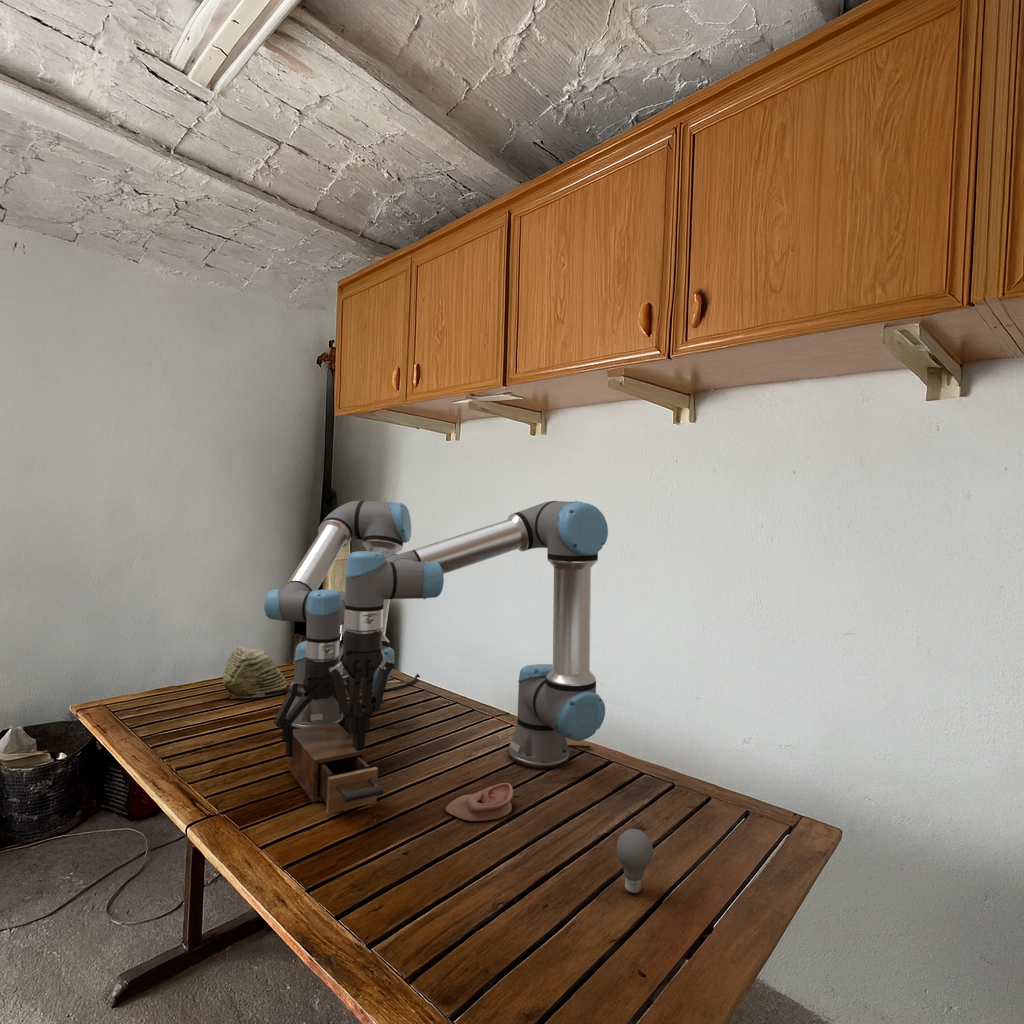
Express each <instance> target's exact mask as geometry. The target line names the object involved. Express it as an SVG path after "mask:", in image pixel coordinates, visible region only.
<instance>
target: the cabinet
mask: <svg viewBox="0 0 1024 1024" xmlns="http://www.w3.org/2000/svg"><path fill="white" fill-rule="evenodd" d="M352 745H353V735H352V734H351V735H350V734H349V733H348V732H347V731H346V730H345V729H344V727H343V726H342V724H340V725H339V724H338V723H337V722H335V723H329V724H323V725H317V726H311V727H305V728H299V729H293V750H292V757H288V756H287V769H288V771H289V772H290V773H291V775H292V776H293V778H294V779H295V780H296V782H297V783H298V784H299V786H300V787H301V789H302V790H303V791H304V793H305V795H307V797H308V799H309V800H310V802H311V803H317V802H322V801H324V800H323V798H322V797H321V796H320V795H319V793H318V792H317V788H318V764H319V763H324V762H329V761H334V760H339V759H344V758H349V757H354V756H360V757H361V758H362V759H363V760H364V761H365V762H366V763H367V749H366V748H365V750H361V751H357V750H356V749H354V748H353V747H352Z"/></svg>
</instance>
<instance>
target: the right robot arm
mask: <svg viewBox="0 0 1024 1024" xmlns="http://www.w3.org/2000/svg"><path fill="white" fill-rule="evenodd" d="M606 519H607V518H605V515H604V514H603V512H602V511H601V510H600V509H599V508H598V507H597V506H595V505H593V504H591V503H588V502H583V501H579V500H574V501H567V500H565V501H564V500H561V501H560V500H550V501H545V502H542V503H538V504H536V505H534V506H531V507H528V508H524V509H522V510H520V511H516V512H513V513H510V514H509V515H508V518H507V519H506V520H502V521H499V522H496V523H492V524H489V525H486V526H483V527H480V528H476V529H473V530H471V531H467V532H464V533H461V534H457V535H455V536H452V537H449V538H445V539H442V540H439V541H436V542H433V543H429V544H426V545H423V546H421V547H417V548H413V549H412V550H408V551H404V552H401V553H397V554H388V555H385V554H384V553H381V552H370V551H367V550H361V551H360V550H359V551H353V552H350V553H349V554H348V555H347V558H346V566H345V569H346V570H345V574H344V578H345V581H344V582H345V583H344V584H345V586H344V591H345V610H344V624H343V629H345V630H344V632H343V633H342V640H343V641H342V645H343V654H342V656H341V658H340V662H339V663H338V664H337V665H336V666H334V667H329V669H328V671H329V673H330V674H331V676H332V677H333V680H334V685H335V690H336V694H337V699H338V704H339V709H340V712H341V713H342V714H343V716H344V717H345V716H349V731H350V732H351V735H352V737H353V745H352V747H353V748H354V749H356V750H357V751H361V750H365V749H366V748H365V747H366V732H369V731H370V729H371V728H370V727H371V717H373V716H374V715H373V714H374V713H375V712H379V711H380V709H381V706H382V702H383V699H384V694H385V692H386V691H385V689H386V688H387V687H386V686H387V684H388V682H387V679H388V675H389V673H390V672H391V670H392V671H393V669H394V666H395V665H394V664H395V663H394V664H393V663H391V662H390V661H388V660H385V659H383V654H382V652H381V649H382V632H381V630H380V629H381V628H382V627H383V606H384V604H383V603H384V599H390V600H411V599H412V600H415V599H417V600H419V599H423V600H426V599H432V598H433V599H435V598H438V597H439V596H440V595H441V593H442V592H443V589H444V583H445V577H444V575H445V574H448V573H451V572H454V571H457V570H460V569H463V568H466V567H469V566H472V565H475V564H477V563H481V562H484V561H487V560H489V559H493V558H496V557H499V556H501V555H502V556H503V555H505V554H508V553H510V552H513V551H517V550H518V551H519V552H522V553H523V552H527V551H530V550H533V549H547V551H546V552H547V555H546V556H547V558H546V559H547V561H548V562H549V564H551V565H552V567H553V603H552V605H553V606H552V608H553V611H552V612H553V613H552V618H553V619H552V664H551V663H538V664H537V663H536V664H528V665H525V666H522V667H521V669H520V671H519V675H518V681H517V682H518V691H517V693H518V695H517V719H516V721H517V722H516V726H515V729H514V732H513V734H512V737H511V740H510V743H509V745H508V758H509V759H510V760H511V761H512V762H513V763H515V764H517V765H519V766H523V767H526V768H530V769H536V770H537V769H539V770H549V769H556V768H560V767H562V766H564V765H565V764H567V763H568V762H569V761H570V748H571V749H589V750H590V749H591V745H585V744H584V745H582V744H568V741H567V739H569V740H571V741H577V742H578V741H585V740H587V739H589V738H590V737H592V736H594V735H595V734H596V732H597V730H599V729H600V728H601V726H602V725H603V722H604V720H605V718H606V717H605V716H606V705H605V702H604V700H603V699H602V697H601V696H600V694H598V693H597V677H596V675H595V674H594V673H593V672H592V671H591V604H592V603H591V602H592V600H591V599H592V598H591V597H592V593H591V592H592V569H593V566H594V565H595V564H597V562H599V552H600V551H601V550H602V549H603V546H604V545H606V543H607V540H608V535H609V526H608V522H607V520H606ZM378 667H379V668H380V669H379V672H378V675H377V679H376V683H375V687H374V690H372V682H373V679H374V673H375V671H376V670H377V668H378ZM343 668H344V669H345V670H346V671H347V673H348V674H349V680H350V688H349V694H347V690H346V688H345V685H344V681H343V678H342V675H343ZM392 668H393V669H392ZM361 677H362V690H361V689H360V683H361ZM386 683H387V684H386ZM360 691H361V692H360ZM372 692H373V694H372ZM360 693H361V694H360ZM347 695H348V696H347ZM360 695H362V698H359V696H360ZM360 699H361V700H360ZM359 701H360V703H361V711H362V713H359Z"/></svg>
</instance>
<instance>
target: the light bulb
mask: <svg viewBox="0 0 1024 1024" xmlns="http://www.w3.org/2000/svg"><path fill="white" fill-rule="evenodd" d="M615 849H616V854H617V857H618V859H619V861H620V863H621V865H622V867H623V873H624V874H623V875H624V876H625V878H624V888H625V890H627V891H628V892H630V893H634V894H635V893H639V892H640V891H641V889H642V887H641V886H642V879H643V877H644V875H645V871H646V868H647V867H648V866H649V864H650V863H651V861H652V859H653V855H654V847H653V843H652V841H651V838H649V836H648V835H647V834H646V833H645V832H643V831H642V830H641V829H636V828H629V829H627V830H625V831H623V832H622V833H621V834H620V835H619V837H618V839H617V841H616V847H615Z"/></svg>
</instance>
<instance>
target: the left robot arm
mask: <svg viewBox="0 0 1024 1024" xmlns="http://www.w3.org/2000/svg"><path fill="white" fill-rule="evenodd" d="M317 533H318V534H317V536H316V537H315V539H314V540H313V542H312V543H311V545H310V547H309V548H308V549H307V552H306V553H305V555H304V556H303V558H302V559H301V561H300V562H299V563H298V566H297V567H296V568H295V570H294V572H293V573H292V575H290V578H289V579H288V581H287V583H286V584H285V585H284V587H283V588H282V589H281V588H275V589H271V590H269V591H268V592H267V594H266V595H265V598H264V602H263V609H264V610H263V611H264V613H265V616H266V617H267V618H268V619H270V620H273V621H281V622H298V623H306V631H305V632H306V634H305V635H306V636H305V640H304V641H302V642H299V643H298V644H297V645H296V647H295V652H294V653H295V654H294V659H293V661H294V670H293V671H294V672H293V680H291V681H290V682H289V686H288V691H287V693H286V695H285V697H284V699H283V701H282V703H281V705H280V708H279V709H278V711H277V713H276V715H275V716H274V719H273V724H274V725H275V727H277V728H281V740H282V742H283V743H285V754H286V756H287V758H288V757H292V750H293V729H299V728H305V727H311V726H317V725H323V724H329V723H335V722H337V723H338V724H339V725H342V723H343V722H344V727H343V728H344V729H345V730H346V731H347V732H348V733H349V734H350V735H351V736H352V733H351V732H350V731H349V716H345V715H343V714H342V713H341V712H340V709H339V704H338V699H337V694H336V690H335V685H334V680H333V677H332V676H331V674H330V673H329V671H328V669H329V667H334V666H336V665H337V664H338V663H339V662H340V658H341V656H342V654H343V644H341V626H344V610H345V590H344V591H343V590H342V591H339V590H335V589H319V588H320V586H321V585H322V583H323V581H324V580H325V578H326V577H327V574H328V572H329V571H330V569H331V568H332V566H333V564H334V563H335V561H336V559H337V557H338V555H340V552H341V550H342V549H343V548H344V547H346V546H348V545H349V543H351V541H355V540H359V541H362V546H363V547H364V548H365V551H370V552H381V553H384V554H385V555H388V554H399V553H400V552H401V551H402V550H403V547H404V544H406V543H408V542H410V540H411V536H412V521H411V515H410V510H409V508H408V507H407V505H406V504H404V503H402V502H393V501H374V500H373V501H371V500H370V501H369V500H353V501H349V502H346V503H343V504H341V505H340V506H338V507H336V508H335V509H334V510H332V511H331V512H330V513H329V514H328V515H327V516H326V517H324V519H323V520H322V522H321V523H320V525H319V526H318V529H317ZM390 601H391V599H384V603H383V604H384V606H383V627H382V628H381V629H380V630H381V632H382V649H381V652H382V654H383V659H385V660H388V661H390V662H391V663H393V664H395V651H394V648H392V647H390V640H389V639H388V638H387V637H386V632H387V631H386V630H387V625H388V617H389V610H390V603H391V602H390ZM379 669H380V668H379V667H378V668H377V670H376V671H375V673H374V679H373V682H372V694H373V690H374V687H375V683H376V679H377V675H378V672H379ZM393 670H394V667H393V668H392V670H391V672H390V673H389V675H388V679H387V683H386V685H387V684H388V682H389V680H390V678H391V675H392V673H393ZM342 678H343V681H344V685H345V690H346V693H347V695H349V688H350V680H349V674H348V673H347V671H346V670H345V669H344V668H343V675H342ZM419 678H421V676H420V674H418V673H416V674H415V676H414V678H413V680H411V681H409V682H407V683H403V684H400V685H396V686H393V687H386V688H385V691H384V692H389V691H393V690H398V689H401V688H404V687H408V686H410V685H413V684H414V683H415V682H416V681H417V680H418V679H419ZM360 691H362V677H361V683H360ZM361 698H362V694H360V696H359V699H361ZM359 713H361V714H362V711H361V700H359Z"/></svg>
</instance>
